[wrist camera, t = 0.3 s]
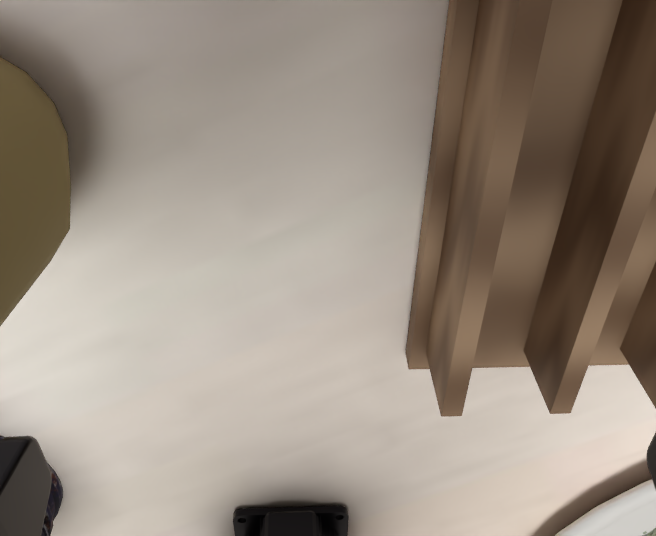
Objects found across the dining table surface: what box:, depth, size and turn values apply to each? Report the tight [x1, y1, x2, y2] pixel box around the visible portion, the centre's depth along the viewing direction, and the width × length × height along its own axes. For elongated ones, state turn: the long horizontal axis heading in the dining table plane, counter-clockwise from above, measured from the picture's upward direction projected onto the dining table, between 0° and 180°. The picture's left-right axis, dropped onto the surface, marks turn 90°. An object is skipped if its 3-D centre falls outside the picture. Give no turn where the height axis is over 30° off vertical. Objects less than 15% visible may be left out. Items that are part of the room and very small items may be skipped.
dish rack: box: [406, 0, 656, 416], centre depth 21 cm, size 18×15×4 cm
